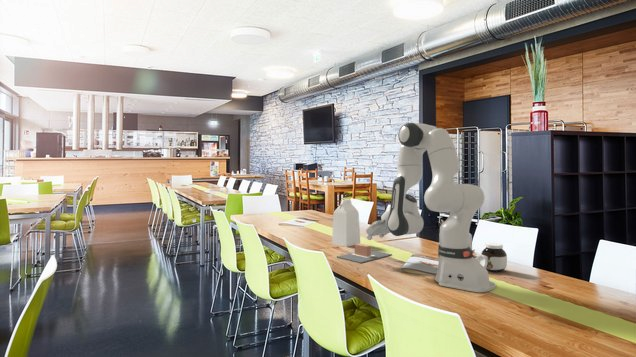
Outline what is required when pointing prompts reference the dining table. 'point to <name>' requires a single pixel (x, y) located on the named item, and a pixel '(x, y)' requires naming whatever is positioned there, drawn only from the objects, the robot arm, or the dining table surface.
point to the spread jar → (493, 257)
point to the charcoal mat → (363, 259)
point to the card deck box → (363, 249)
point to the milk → (346, 225)
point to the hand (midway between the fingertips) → (374, 237)
